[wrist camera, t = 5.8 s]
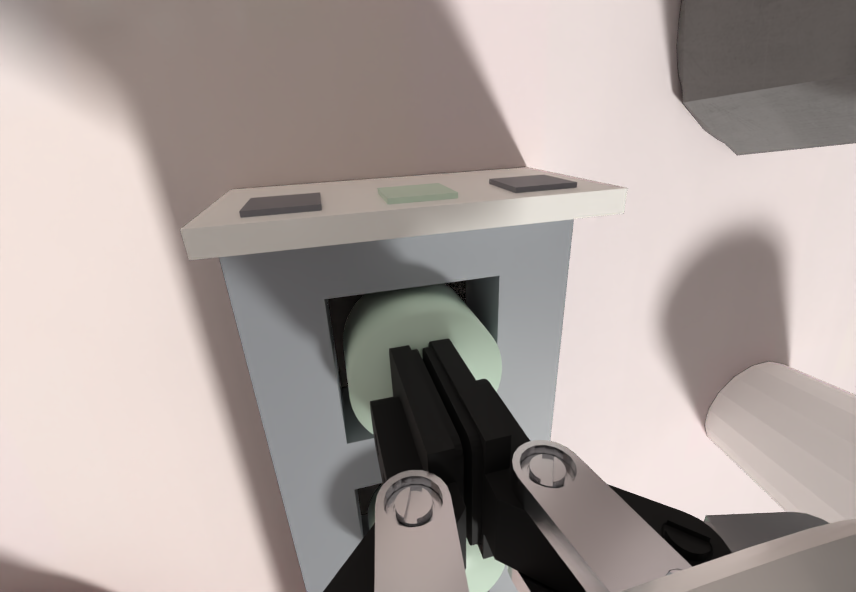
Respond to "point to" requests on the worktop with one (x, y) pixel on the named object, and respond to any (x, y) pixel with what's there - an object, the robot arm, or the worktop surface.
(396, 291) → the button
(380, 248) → the button board
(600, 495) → the robot arm
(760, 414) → the white cup
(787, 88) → the coffeepot
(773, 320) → the worktop surface
